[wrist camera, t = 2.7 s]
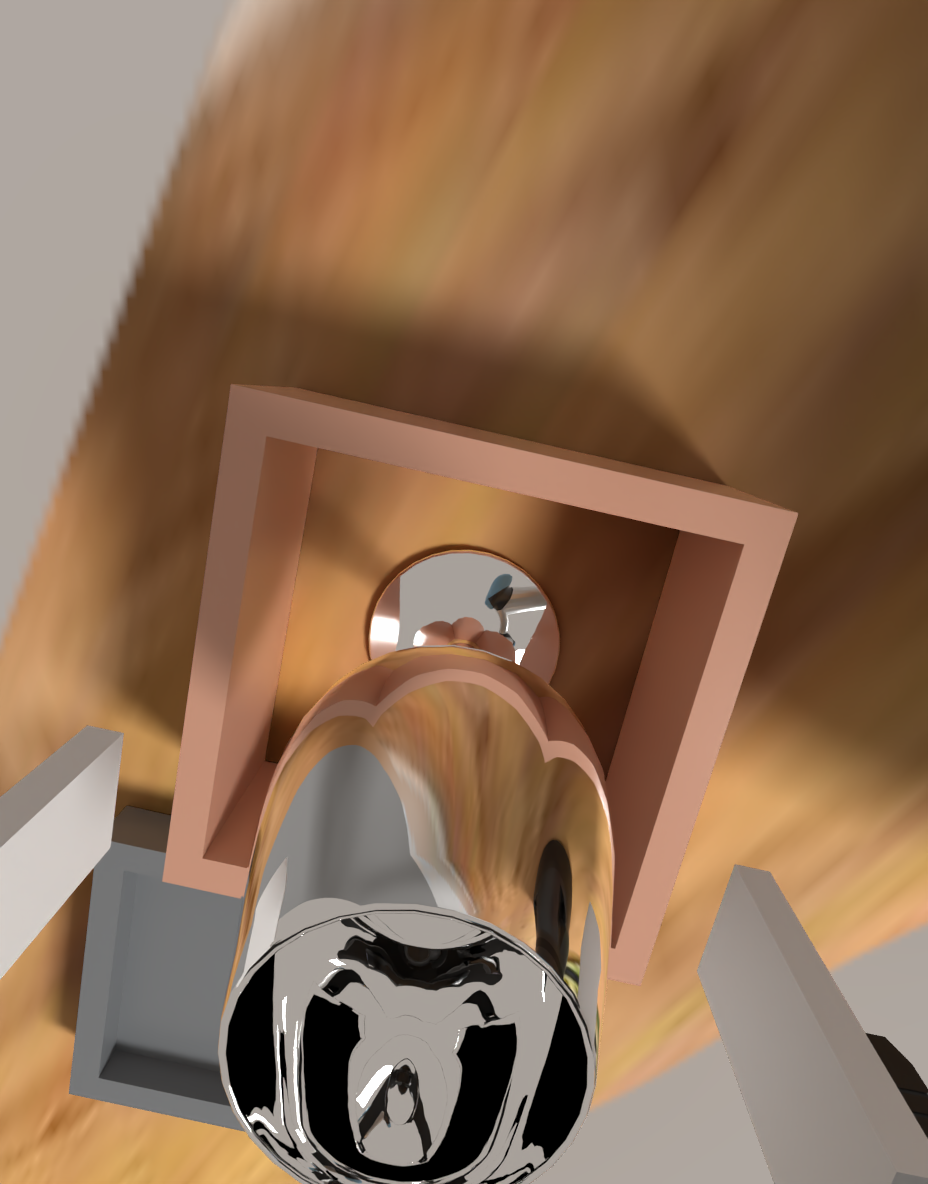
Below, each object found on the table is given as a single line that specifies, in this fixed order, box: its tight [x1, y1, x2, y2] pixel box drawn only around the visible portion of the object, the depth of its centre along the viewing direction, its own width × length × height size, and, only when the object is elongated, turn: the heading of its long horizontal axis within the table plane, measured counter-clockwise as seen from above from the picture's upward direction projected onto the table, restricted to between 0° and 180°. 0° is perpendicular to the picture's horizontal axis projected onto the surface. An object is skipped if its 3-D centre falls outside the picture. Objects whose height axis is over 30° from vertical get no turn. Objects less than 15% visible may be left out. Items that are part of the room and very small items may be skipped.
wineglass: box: [218, 550, 615, 1184], centre depth 21 cm, size 8×8×20 cm
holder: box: [162, 384, 798, 986], centre depth 27 cm, size 16×16×7 cm
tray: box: [69, 806, 246, 1132], centre depth 33 cm, size 15×13×2 cm
